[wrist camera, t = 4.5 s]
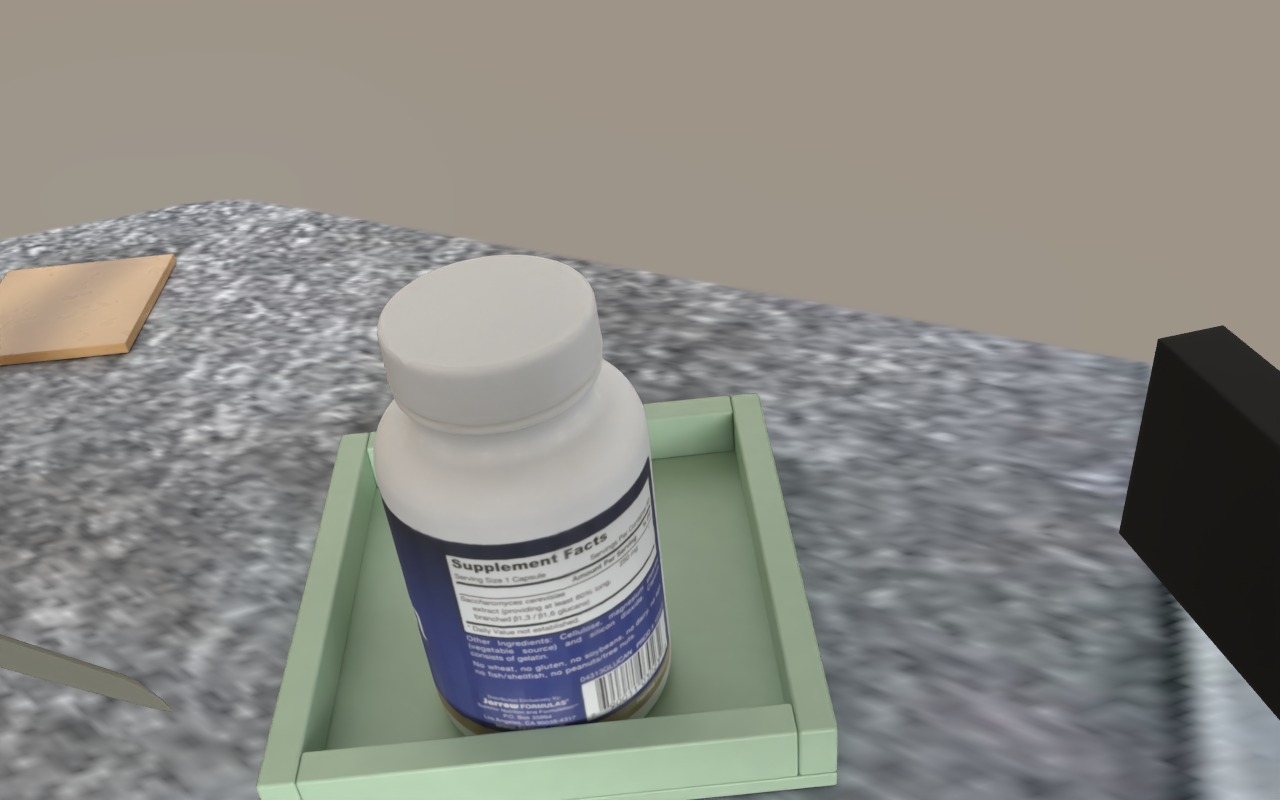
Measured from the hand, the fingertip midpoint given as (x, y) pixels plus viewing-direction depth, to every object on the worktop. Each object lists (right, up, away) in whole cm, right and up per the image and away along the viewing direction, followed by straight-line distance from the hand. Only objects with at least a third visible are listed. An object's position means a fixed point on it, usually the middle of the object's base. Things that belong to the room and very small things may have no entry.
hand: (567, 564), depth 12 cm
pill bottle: (-1, -5, +15) cm, 16 cm away
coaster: (-20, +5, +31) cm, 38 cm away
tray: (-1, -4, +17) cm, 17 cm away
